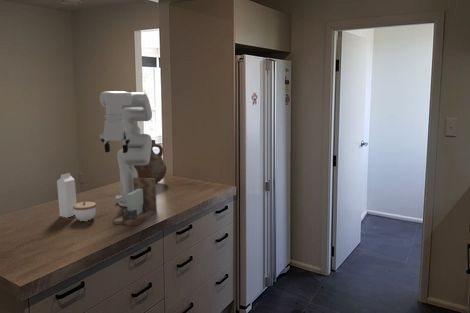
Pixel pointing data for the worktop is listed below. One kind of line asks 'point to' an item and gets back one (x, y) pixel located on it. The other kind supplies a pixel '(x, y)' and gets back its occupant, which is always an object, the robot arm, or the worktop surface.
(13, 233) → the worktop surface
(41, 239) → the worktop surface
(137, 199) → the door
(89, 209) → the lidded jar
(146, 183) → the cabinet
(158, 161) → the jug
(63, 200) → the milk
